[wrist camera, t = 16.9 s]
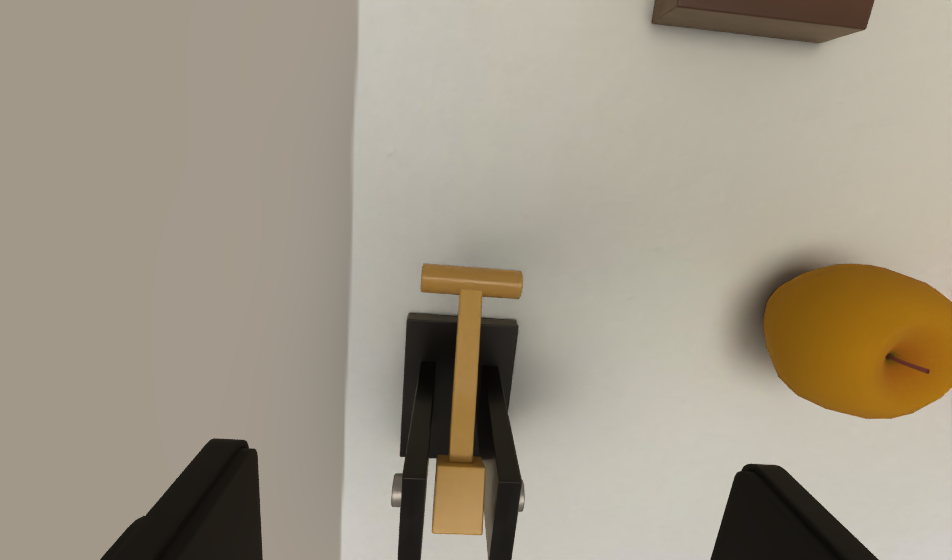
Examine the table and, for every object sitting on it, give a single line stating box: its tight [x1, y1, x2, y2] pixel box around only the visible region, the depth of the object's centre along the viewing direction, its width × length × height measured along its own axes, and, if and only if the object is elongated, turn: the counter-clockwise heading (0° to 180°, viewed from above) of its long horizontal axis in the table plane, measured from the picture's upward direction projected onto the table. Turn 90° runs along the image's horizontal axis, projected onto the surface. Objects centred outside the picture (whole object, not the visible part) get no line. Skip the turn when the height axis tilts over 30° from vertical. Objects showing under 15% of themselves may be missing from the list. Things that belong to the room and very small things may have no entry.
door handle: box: [421, 264, 523, 535], centre depth 22 cm, size 12×5×2 cm, turn 175°
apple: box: [763, 264, 952, 419], centre depth 26 cm, size 8×8×9 cm
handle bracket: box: [391, 313, 525, 560], centre depth 25 cm, size 10×7×12 cm
